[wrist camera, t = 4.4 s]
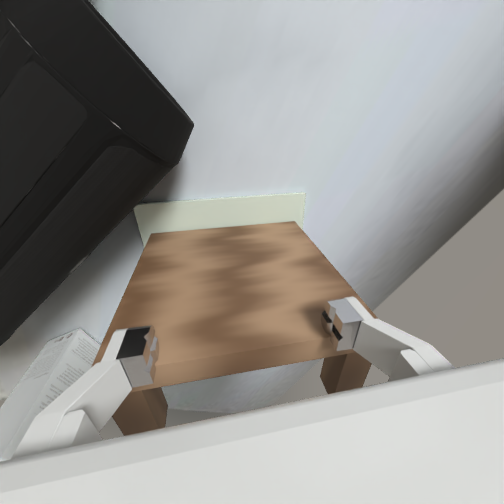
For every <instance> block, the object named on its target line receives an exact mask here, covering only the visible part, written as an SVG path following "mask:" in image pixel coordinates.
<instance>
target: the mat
mask: <svg viewBox="0 0 504 504" xmlns="http://www.w3.org/2000/svg"><path fill="white" fill-rule="evenodd" d="M305 197H306V193H304V192H301V193H286V194H271V195H256V196H241V197H227V198H212V199H197V200H182V201H167V202H153V203H138V204H137V205H136V206H135V207H134V208H133V209H134V213H135V217H136V220H137V224H138V227H139V231H140V235H141V238H142V242H143V246H144V248H145V246H146V243H147V241H148V239H149V237H150V235H151V233H162V232H174V231H186V230H197V229H209V228H220V227H232V226H244V225H255V224H267V223H279V222H290V221H295V222H296V223H297V224H298V226H299V227H300V228H301V229H303V218H304V208H305ZM281 366H282V365H281ZM253 371H254V370H253ZM208 379H209V378H208Z"/></svg>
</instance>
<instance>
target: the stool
mask: <svg viewBox="0 0 504 504" xmlns="http://www.w3.org/2000/svg"><path fill="white" fill-rule="evenodd" d="M346 297H355V298H356V299H357V300H358V301H359V302H360V303H361V304H362V306H363V307H364V308H365V309H366V310H367V311H368V312H369V313H370V315H371V316H372V317H373V318H374V319H378V318H377V317H376V316H375V314H374V313H373V312H372V311H371V310H370V308H369V307H368V306H367V305H366V304H365V303H364V301H363V300H362V299H361V298H360V297H359V296H358V294H357V293H356V292H355V291H354V290H353V289H352V287H351V286H350V285H349V284H348V283H347V282H346V280H345V279H344V278H343V277H342V276H341V275H340V273H339V272H338V271H337V270H336V269H335V268H334V266H333V265H332V264H331V263H330V262H329V261H328V259H327V258H326V257H325V256H324V255H323V254H322V252H321V251H320V250H319V249H318V248H317V247H316V245H315V244H314V243H313V242H312V241H311V240H310V238H309V237H308V236H307V235H306V234H305V233H304V231H303V230H302V229H301V228H300V227H299V226H298V224H297V223H296V222H295V221H290V222H279V223H267V224H255V225H244V226H232V227H220V228H209V229H197V230H186V231H174V232H162V233H151V235H150V237H149V239H148V241H147V243H146V246H145V248H144V250H143V252H142V255H141V257H140V259H139V261H138V264H137V266H136V268H135V270H134V273H133V275H132V277H131V279H130V281H129V284H128V286H127V288H126V290H125V293H124V295H123V297H122V299H121V302H120V304H119V306H118V308H117V310H116V313H115V315H114V317H113V319H112V322H111V324H110V326H109V328H108V331H107V333H106V335H105V337H104V340H103V342H102V344H101V346H100V348H99V351H98V353H97V355H96V357H95V360H94V362H93V364H92V366H91V368H92V367H93V366H94V365H95V364H96V363H99V362H101V360H102V358H103V356H104V353H105V351H106V349H107V346H108V344H109V342H110V340H111V337H112V335H113V333H114V332H115V331H116V330H118V329H127V328H133V327H141V326H150V325H152V326H154V329H155V335H154V336H155V337H156V338H158V342H159V357H158V360H157V362H156V363H155V367H156V373H155V378H154V383H153V384H148V385H143V386H139V387H134V388H132V390H131V391H130V393H129V394H128V395H127V397H126V398H125V399H124V401H123V402H122V403H121V405H120V406H119V407H118V409H117V410H116V411H115V413H114V414H113V415H112V417H113V419H114V420H115V422H116V424H117V425H118V427H119V428H120V429H121V431H122V433H123V434H124V436H127V435H132V434H137V433H142V432H146V431H151V430H156V429H161V428H165V424H166V416H167V408H168V405H167V402H166V399H165V397H164V394H163V392H162V389H161V387H163V386H169V385H175V384H180V383H186V382H192V381H197V380H203V379H208V378H214V377H220V376H225V375H231V374H237V373H242V372H248V371H253V370H259V369H265V368H270V367H276V366H281V365H287V364H293V363H298V362H304V361H310V360H315V359H321V358H324V362H323V366H322V371H321V375H320V377H321V380H322V382H323V384H324V386H325V389H326V391H327V393H328V394H332V393H336V392H341V391H346V390H351V389H356V388H361V387H362V386H363V384H364V381H365V379H366V376H367V374H368V371H369V369H370V367H371V364H372V363H370V362H369V361H368V360H366V359H365V358H364V357H362V356H361V355H360V354H358V353H357V352H356V351H354V350H353V349H348V350H341V351H336V350H335V348H334V346H333V345H332V343H331V341H330V335H329V334H327V333H325V331H324V329H323V327H322V324H321V314H322V313H323V311H324V308H323V303H324V301H327V300H333V299H340V298H346Z"/></svg>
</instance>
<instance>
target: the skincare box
mask: <svg viewBox="0 0 504 504" xmlns="http://www.w3.org/2000/svg"><path fill="white" fill-rule="evenodd" d="M100 346H101V345H99V344H98V343H97V342H96V341H95V340H93V339H92V338H91V337H90V336H89V335H88V334H86V333H85V332H84V331H83V330H82V329H81V328H79V329H76V330H74V331H71V332H69V333H67V334H64V335H62V336H60V337H57V338H55V339H52V340H50V341H48V342H47V343H46V345H45V346H44V347H43V349H42V350H41V352H40V353H39V354H38V356H37V357H36V359H35V360H34V361H33V363H32V364H31V366H30V367H29V368H28V370H27V371H26V373H25V374H24V376H23V377H22V378H21V380H20V381H19V383H18V384H17V385H16V387H15V388H14V390H13V391H12V392H11V394H10V395H9V397H8V398H7V399H6V401H5V402H4V404H3V405H2V407H1V408H0V461H5V460H10V459H11V458H12V456H13V454H14V453H15V451H16V449H17V447H18V446H19V444H20V442H21V441H22V439H23V437H24V435H25V434H26V432H27V430H28V429H29V427H30V425H31V423H32V422H33V420H34V418H35V417H36V416H37V415H38V414H39V413H40V412H41V411H43V410H44V409H45V408H46V407H47V406H48V405H49V404H51V403H52V402H53V401H54V400H55V399H56V398H57V397H58V396H60V395H61V394H62V393H63V392H64V391H65V390H66V389H68V388H69V387H70V386H71V385H72V384H73V383H74V382H76V381H77V380H78V379H79V378H80V377H81V376H82V375H84V374H85V373H86V372H87V371H88V370H89V369H90V368H91V366H92V364H93V362H94V360H95V357H96V355H97V353H98V351H99V348H100Z"/></svg>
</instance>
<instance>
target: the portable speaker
mask: <svg viewBox="0 0 504 504" xmlns="http://www.w3.org/2000/svg"><path fill="white" fill-rule="evenodd" d="M193 127H194V123H193V122H192V120H191V119H190V118H189V116H188V115H187V114H186V113H185V111H184V110H183V109H182V108H181V106H180V105H179V104H178V103H177V102H176V100H175V99H174V98H173V97H172V96H171V95H170V93H169V92H168V91H167V90H166V89H165V88H164V86H163V85H162V84H161V83H160V82H159V80H158V79H157V78H156V77H155V76H154V75H153V74H152V72H151V71H150V70H149V69H148V68H147V67H146V66H145V64H144V63H143V62H142V61H141V60H140V59H139V58H138V56H137V55H136V54H135V53H134V52H133V51H132V50H131V48H130V47H129V46H128V45H127V44H126V43H125V41H124V40H123V39H122V38H121V37H120V36H119V35H118V34H117V32H116V31H115V30H114V29H113V28H112V27H111V26H110V25H109V23H108V22H107V21H106V20H105V19H104V18H103V17H102V16H101V15H100V13H99V12H98V11H97V10H96V9H95V8H94V7H93V6H92V5H91V3H90V2H89V1H88V0H0V346H1V345H2V344H3V343H4V342H5V341H7V340H8V339H9V338H10V337H11V335H12V334H13V333H14V332H15V330H16V329H17V328H18V327H19V326H20V325H21V324H22V323H23V322H24V321H25V320H26V319H27V318H28V317H29V316H30V315H31V314H32V313H33V312H34V311H35V310H36V309H37V308H38V307H39V305H40V304H41V303H42V302H43V301H44V300H45V299H46V298H47V297H48V296H49V295H50V294H51V293H52V292H53V291H54V290H55V289H56V288H57V287H58V286H59V285H60V284H61V283H62V282H63V281H64V280H65V279H66V278H67V277H68V275H69V274H70V273H71V272H73V271H74V270H75V269H76V268H77V267H78V266H79V265H80V264H81V263H82V262H83V261H84V260H85V259H86V258H87V257H88V256H89V255H90V254H91V252H92V251H93V250H94V249H95V248H96V247H97V245H98V244H99V243H100V242H101V241H102V240H103V239H104V238H105V237H106V236H107V235H108V234H109V233H110V232H111V231H112V230H113V229H114V228H115V227H116V226H117V225H118V224H119V223H120V222H121V221H122V220H123V219H124V218H125V217H126V216H127V214H128V213H129V212H130V211H131V210H132V209H133V208H134V207H135V206H136V205H137V204H138V203H139V202H140V201H141V200H142V199H143V198H144V197H145V196H146V195H147V194H148V193H149V192H150V191H151V190H152V189H153V188H154V187H155V186H156V184H157V183H158V182H159V181H160V180H161V179H162V178H163V177H164V176H165V175H166V174H167V173H168V172H169V171H170V170H171V169H172V168H173V167H174V166H175V165H177V164H178V163H179V161H180V159H181V157H182V154H183V152H184V149H185V147H186V144H187V142H188V139H189V137H190V134H191V132H192V129H193Z"/></svg>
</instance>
